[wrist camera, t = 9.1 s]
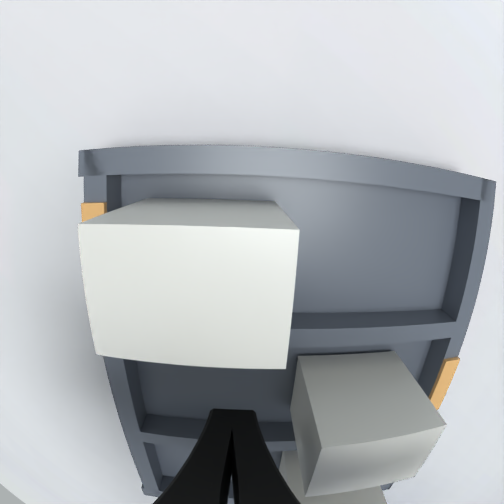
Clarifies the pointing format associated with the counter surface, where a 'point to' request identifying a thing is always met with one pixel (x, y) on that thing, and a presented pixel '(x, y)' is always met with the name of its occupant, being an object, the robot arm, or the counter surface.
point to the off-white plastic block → (191, 282)
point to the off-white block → (360, 422)
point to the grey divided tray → (306, 279)
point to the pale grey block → (364, 500)
